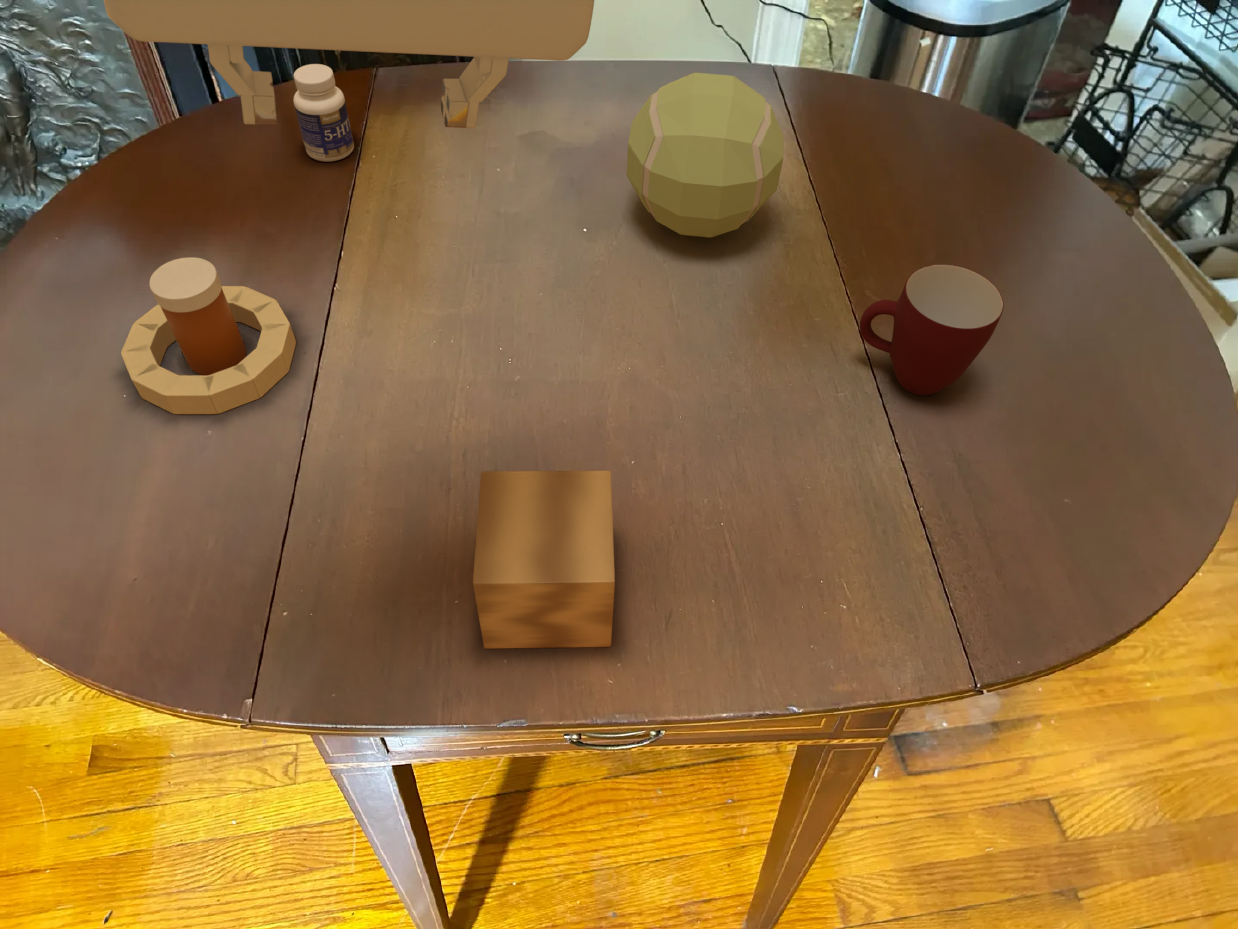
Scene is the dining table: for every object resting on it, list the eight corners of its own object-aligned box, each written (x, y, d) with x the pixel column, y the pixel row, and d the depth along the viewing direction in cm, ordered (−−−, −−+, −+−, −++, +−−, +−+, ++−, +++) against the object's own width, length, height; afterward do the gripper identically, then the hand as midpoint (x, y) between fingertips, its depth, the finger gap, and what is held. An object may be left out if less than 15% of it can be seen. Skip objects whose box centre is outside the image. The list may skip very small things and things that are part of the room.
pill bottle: (335, 168, 99) (317, 91, 92) (296, 154, 100) (275, 78, 93) (364, 143, 102) (349, 68, 95) (326, 131, 103) (308, 55, 96)
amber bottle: (199, 385, 79) (162, 307, 72) (177, 350, 81) (139, 272, 74) (257, 361, 81) (226, 282, 74) (233, 327, 83) (201, 249, 76)
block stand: (484, 649, 64) (472, 583, 57) (490, 542, 70) (480, 471, 63) (611, 647, 65) (614, 582, 58) (607, 541, 70) (610, 470, 63)
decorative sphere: (618, 257, 92) (624, 120, 80) (633, 171, 101) (640, 37, 89) (767, 271, 91) (795, 136, 79) (768, 183, 100) (793, 51, 88)
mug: (842, 396, 81) (870, 312, 73) (850, 335, 86) (878, 250, 78) (962, 421, 79) (1004, 338, 72) (964, 358, 84) (1004, 273, 76)
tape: (113, 414, 76) (101, 395, 75) (158, 305, 85) (149, 285, 83) (277, 414, 77) (270, 395, 75) (306, 305, 86) (300, 286, 84)
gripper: (608, -201, 38) (549, 84, 50) (52, -288, 31) (130, 69, 42) (652, -121, 35) (579, 163, 47) (50, -196, 28) (134, 161, 39)
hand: (362, 118), depth 45 cm, fingers open, 8 cm apart
